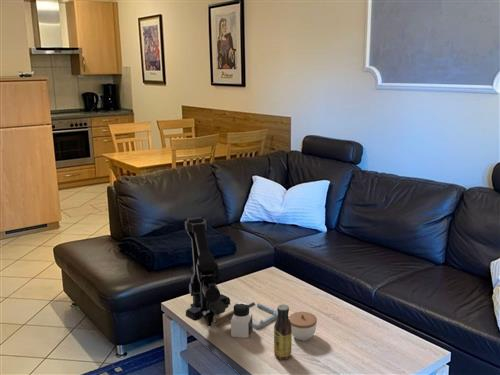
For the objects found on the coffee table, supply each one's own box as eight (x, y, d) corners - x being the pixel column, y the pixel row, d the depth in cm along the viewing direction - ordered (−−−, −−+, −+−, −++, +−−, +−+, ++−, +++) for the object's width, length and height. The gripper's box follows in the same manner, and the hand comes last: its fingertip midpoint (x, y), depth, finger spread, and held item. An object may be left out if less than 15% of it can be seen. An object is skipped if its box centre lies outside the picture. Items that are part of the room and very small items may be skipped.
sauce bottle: (273, 351, 179) (272, 302, 174) (289, 350, 180) (290, 301, 175) (275, 362, 173) (275, 311, 168) (292, 361, 173) (293, 310, 168)
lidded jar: (319, 331, 192) (319, 309, 189) (313, 346, 182) (313, 323, 180) (292, 327, 195) (292, 305, 193) (285, 341, 186) (285, 319, 183)
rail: (214, 323, 199) (214, 322, 199) (253, 303, 215) (253, 302, 214) (215, 324, 199) (215, 322, 198) (254, 304, 214) (254, 302, 214)
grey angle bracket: (235, 318, 203) (235, 312, 202) (258, 306, 213) (258, 300, 212) (257, 329, 194) (257, 323, 194) (280, 315, 204) (280, 310, 203)
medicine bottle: (249, 338, 188) (248, 310, 185) (231, 336, 189) (230, 308, 186) (252, 328, 195) (252, 301, 192) (235, 327, 196) (234, 300, 193)
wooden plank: (215, 324, 198) (215, 319, 198) (240, 311, 208) (240, 306, 207) (217, 324, 198) (217, 320, 197) (242, 312, 207) (242, 307, 207)
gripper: (202, 305, 179) (204, 343, 183) (239, 288, 192) (240, 324, 196) (183, 296, 187) (186, 332, 191) (220, 280, 200) (221, 314, 204)
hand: (209, 326), depth 195 cm, fingers closed
